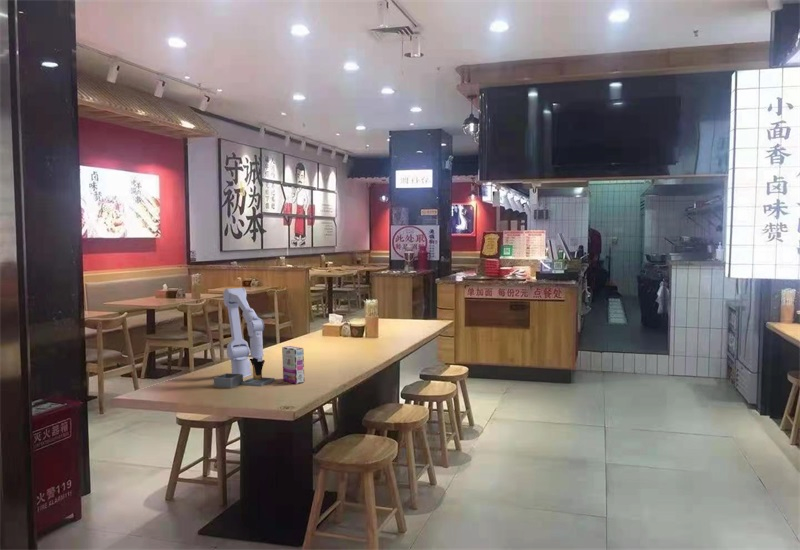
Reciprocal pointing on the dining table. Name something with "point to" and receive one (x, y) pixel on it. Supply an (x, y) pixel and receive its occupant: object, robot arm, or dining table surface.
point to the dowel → (256, 375)
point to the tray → (258, 381)
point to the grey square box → (228, 380)
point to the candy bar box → (293, 364)
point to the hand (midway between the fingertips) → (257, 374)
